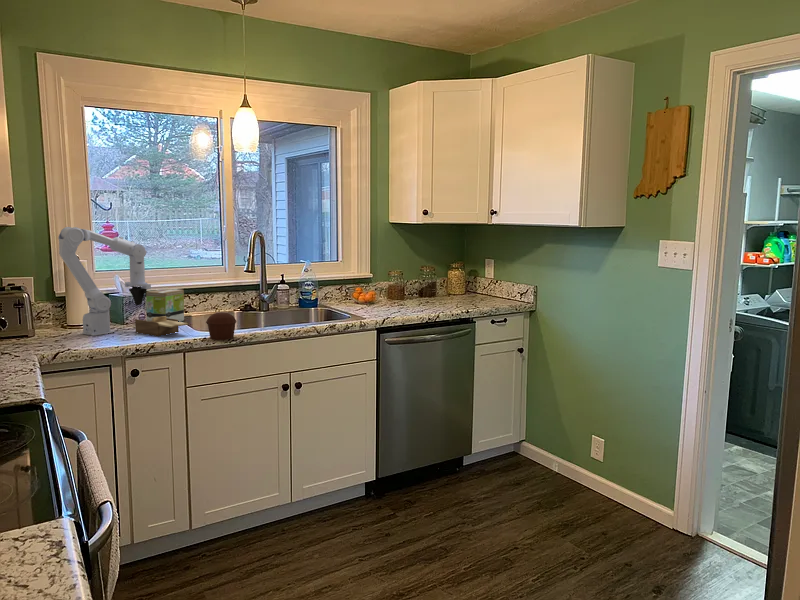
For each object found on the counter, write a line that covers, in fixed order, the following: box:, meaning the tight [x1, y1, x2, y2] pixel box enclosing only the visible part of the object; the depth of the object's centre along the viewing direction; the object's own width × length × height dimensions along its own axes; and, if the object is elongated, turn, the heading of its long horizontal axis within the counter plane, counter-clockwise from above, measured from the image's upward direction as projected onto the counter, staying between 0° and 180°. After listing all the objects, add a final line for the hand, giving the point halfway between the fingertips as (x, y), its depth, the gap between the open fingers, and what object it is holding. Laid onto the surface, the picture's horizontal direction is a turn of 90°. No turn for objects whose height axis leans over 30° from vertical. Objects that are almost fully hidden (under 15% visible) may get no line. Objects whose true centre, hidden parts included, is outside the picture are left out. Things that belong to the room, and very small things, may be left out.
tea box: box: [145, 288, 185, 322], centre depth 277 cm, size 15×10×15 cm
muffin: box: [205, 311, 237, 341], centre depth 243 cm, size 12×11×10 cm
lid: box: [152, 316, 189, 327], centre depth 248 cm, size 8×14×2 cm, turn 59°
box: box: [134, 318, 180, 337], centre depth 252 cm, size 10×14×6 cm
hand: (138, 304), depth 258 cm, fingers closed
